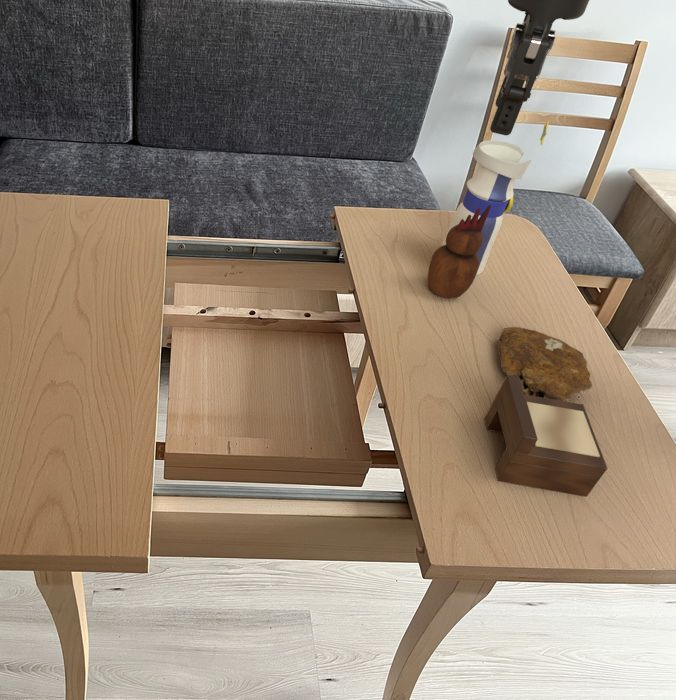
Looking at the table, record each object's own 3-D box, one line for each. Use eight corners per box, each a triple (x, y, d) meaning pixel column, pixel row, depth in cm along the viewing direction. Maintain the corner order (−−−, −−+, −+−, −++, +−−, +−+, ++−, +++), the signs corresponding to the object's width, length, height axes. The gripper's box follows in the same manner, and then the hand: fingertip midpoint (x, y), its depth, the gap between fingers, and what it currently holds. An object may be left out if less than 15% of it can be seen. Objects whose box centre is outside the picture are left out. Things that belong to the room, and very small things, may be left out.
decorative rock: (597, 426, 88) (562, 353, 99) (614, 402, 85) (576, 330, 97) (509, 409, 87) (485, 337, 99) (523, 385, 85) (497, 315, 97)
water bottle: (476, 248, 118) (536, 103, 101) (493, 277, 111) (560, 128, 95) (429, 245, 117) (482, 99, 101) (444, 274, 110) (503, 123, 94)
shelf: (565, 432, 86) (592, 389, 81) (586, 497, 78) (619, 453, 73) (484, 418, 86) (506, 374, 81) (497, 481, 78) (524, 437, 74)
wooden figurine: (464, 285, 108) (500, 200, 99) (467, 307, 104) (504, 219, 94) (421, 277, 109) (452, 191, 99) (422, 298, 105) (454, 210, 95)
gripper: (607, -21, 61) (534, 151, 72) (600, -47, 72) (537, 106, 82) (520, -37, 63) (461, 134, 73) (526, -60, 73) (473, 92, 84)
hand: (501, 119), depth 78 cm, fingers open, 8 cm apart
